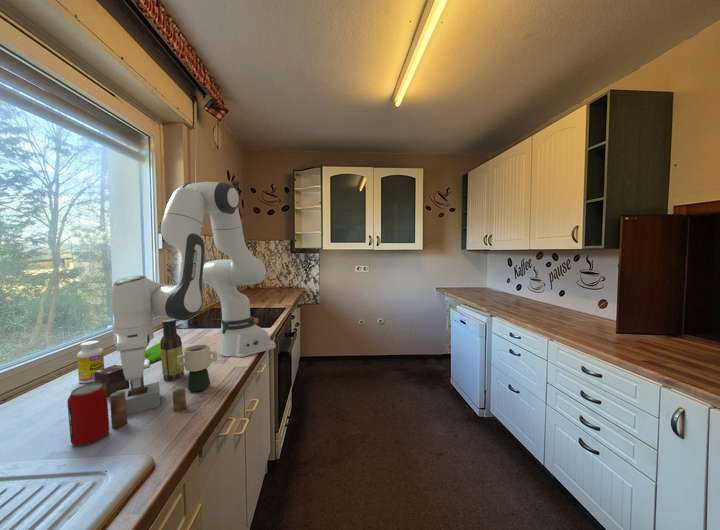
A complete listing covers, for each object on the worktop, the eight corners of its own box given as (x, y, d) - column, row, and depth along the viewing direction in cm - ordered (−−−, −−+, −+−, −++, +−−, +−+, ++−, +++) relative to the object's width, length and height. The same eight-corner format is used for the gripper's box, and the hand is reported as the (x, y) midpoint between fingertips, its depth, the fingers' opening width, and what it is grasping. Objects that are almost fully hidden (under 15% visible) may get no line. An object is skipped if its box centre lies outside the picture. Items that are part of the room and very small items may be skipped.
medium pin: (127, 420, 78) (125, 389, 78) (126, 425, 76) (124, 394, 75) (112, 424, 76) (110, 393, 76) (111, 430, 74) (108, 398, 73)
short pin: (185, 404, 85) (184, 387, 85) (186, 409, 83) (185, 391, 82) (173, 408, 84) (172, 390, 83) (173, 413, 81) (172, 394, 81)
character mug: (219, 380, 100) (217, 342, 100) (217, 389, 94) (215, 348, 93) (181, 386, 96) (178, 346, 96) (176, 397, 90) (174, 353, 89)
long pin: (144, 396, 87) (142, 358, 87) (144, 400, 85) (142, 361, 84) (131, 399, 86) (129, 361, 85) (131, 403, 83) (128, 364, 82)
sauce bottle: (188, 373, 107) (184, 317, 106) (178, 381, 101) (174, 321, 99) (169, 374, 107) (166, 318, 105) (158, 382, 100) (154, 322, 99)
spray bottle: (182, 347, 137) (153, 370, 113) (156, 349, 135) (121, 372, 111) (182, 341, 137) (152, 362, 112) (156, 342, 135) (120, 364, 111)
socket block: (159, 394, 91) (159, 381, 91) (160, 406, 85) (159, 392, 85) (117, 404, 86) (116, 391, 86) (114, 417, 79) (113, 402, 79)
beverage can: (87, 430, 74) (83, 382, 73) (116, 428, 74) (113, 381, 74) (62, 449, 67) (57, 396, 66) (95, 447, 68) (90, 394, 67)
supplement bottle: (89, 384, 99) (86, 346, 99) (73, 383, 101) (70, 345, 100) (110, 376, 106) (107, 339, 105) (94, 375, 107) (92, 339, 107)
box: (130, 389, 96) (128, 366, 95) (109, 398, 90) (107, 374, 90) (116, 386, 98) (115, 364, 97) (95, 395, 92) (93, 371, 92)
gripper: (123, 329, 91) (126, 374, 92) (115, 346, 74) (119, 402, 75) (148, 325, 95) (151, 369, 95) (147, 342, 78) (150, 394, 78)
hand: (137, 383), depth 85 cm, fingers closed on long pin, 3 cm apart
